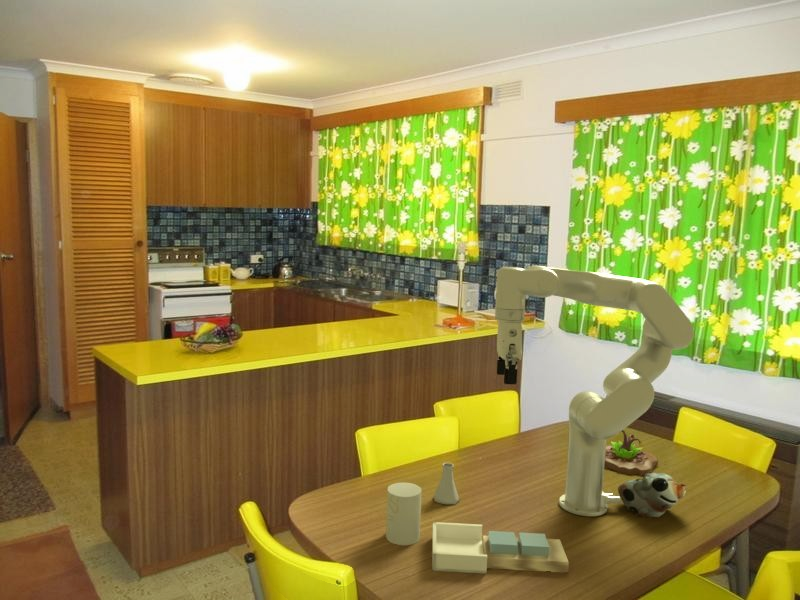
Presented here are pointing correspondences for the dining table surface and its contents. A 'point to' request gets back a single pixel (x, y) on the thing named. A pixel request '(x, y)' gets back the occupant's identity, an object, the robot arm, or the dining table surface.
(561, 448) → the dining table surface
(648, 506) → the grey toy figure
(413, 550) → the dining table surface
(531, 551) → the tile
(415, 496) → the grey cylinder
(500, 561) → the board
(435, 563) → the tray
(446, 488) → the flask
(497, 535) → the tile
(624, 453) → the plant
